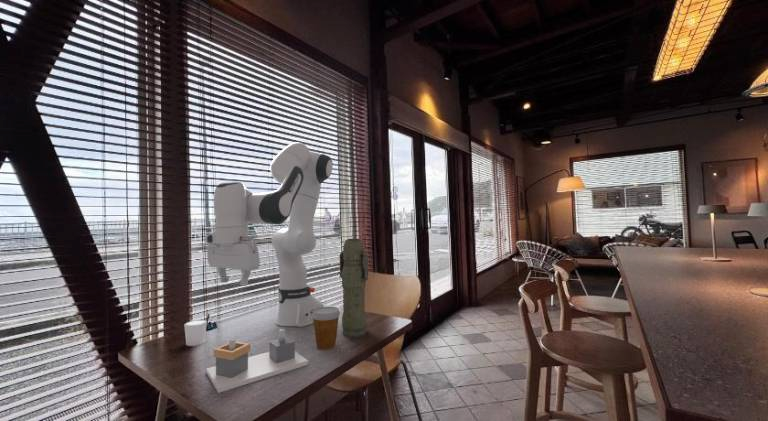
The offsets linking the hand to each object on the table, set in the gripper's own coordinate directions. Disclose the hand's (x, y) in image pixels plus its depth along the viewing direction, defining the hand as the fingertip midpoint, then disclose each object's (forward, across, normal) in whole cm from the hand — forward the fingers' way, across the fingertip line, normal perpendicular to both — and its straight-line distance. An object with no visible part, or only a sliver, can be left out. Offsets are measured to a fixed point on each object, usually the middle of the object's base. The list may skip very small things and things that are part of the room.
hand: (234, 283), depth 97 cm
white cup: (+24, +29, -3) cm, 38 cm away
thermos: (+26, -14, -38) cm, 48 cm away
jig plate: (+24, -8, -2) cm, 25 cm away
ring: (+18, -5, +5) cm, 19 cm away
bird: (+25, +41, -15) cm, 50 cm away
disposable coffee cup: (+25, -13, -24) cm, 37 cm away
